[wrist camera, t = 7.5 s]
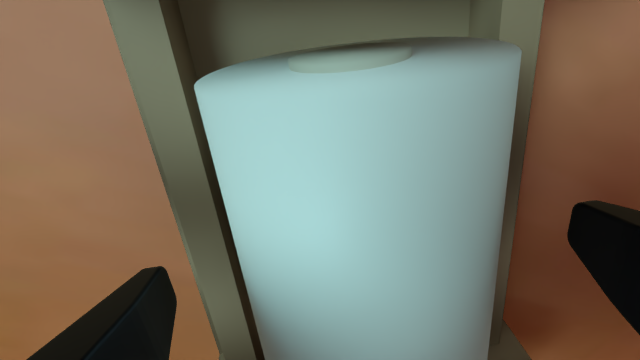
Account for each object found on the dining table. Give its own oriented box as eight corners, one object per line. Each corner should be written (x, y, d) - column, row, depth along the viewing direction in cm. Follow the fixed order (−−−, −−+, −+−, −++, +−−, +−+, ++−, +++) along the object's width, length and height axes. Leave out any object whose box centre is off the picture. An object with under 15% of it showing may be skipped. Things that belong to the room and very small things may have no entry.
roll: (435, 268, 14) (535, 439, 8) (272, 293, 14) (266, 487, 8) (440, 24, 10) (623, 48, 5) (218, 53, 10) (143, 114, 5)
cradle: (481, 320, 16) (556, 438, 12) (231, 360, 16) (212, 498, 12) (529, -170, 9) (761, -332, 5) (80, -120, 9) (-124, -245, 4)
